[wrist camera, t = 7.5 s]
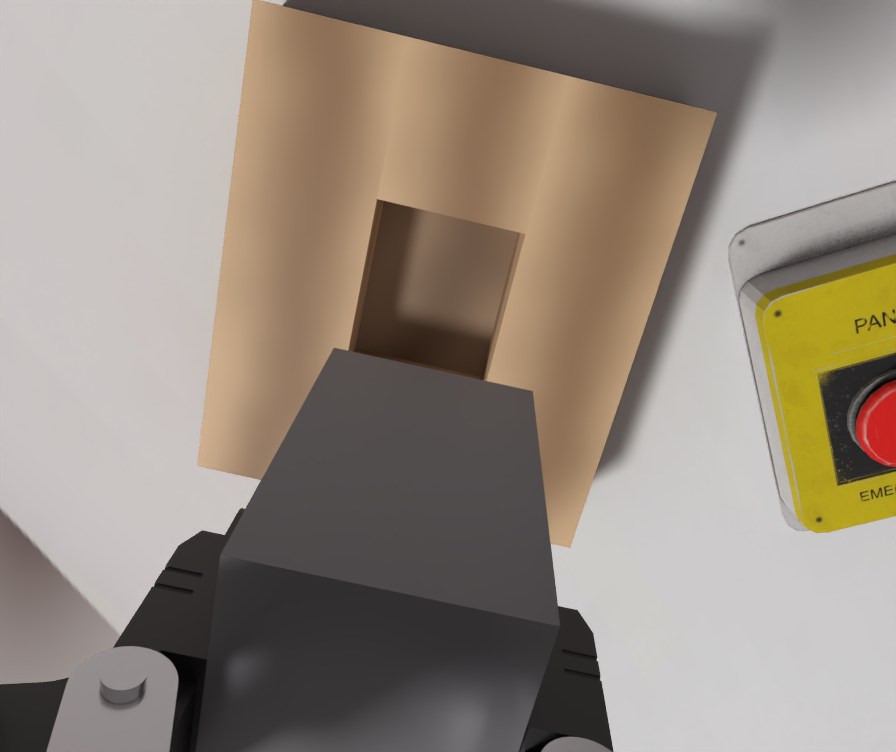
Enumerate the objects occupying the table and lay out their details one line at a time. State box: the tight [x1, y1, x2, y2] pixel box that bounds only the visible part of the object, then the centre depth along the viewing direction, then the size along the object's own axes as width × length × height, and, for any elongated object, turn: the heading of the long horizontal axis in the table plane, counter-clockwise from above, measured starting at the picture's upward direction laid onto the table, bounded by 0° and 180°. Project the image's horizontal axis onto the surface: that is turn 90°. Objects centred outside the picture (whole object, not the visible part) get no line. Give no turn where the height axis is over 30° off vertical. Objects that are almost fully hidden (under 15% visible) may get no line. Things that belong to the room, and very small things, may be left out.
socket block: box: [197, 0, 717, 548], centre depth 32 cm, size 16×18×4 cm
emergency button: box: [728, 182, 896, 533], centre depth 33 cm, size 9×4×15 cm
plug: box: [196, 348, 560, 752], centre depth 13 cm, size 4×6×7 cm
